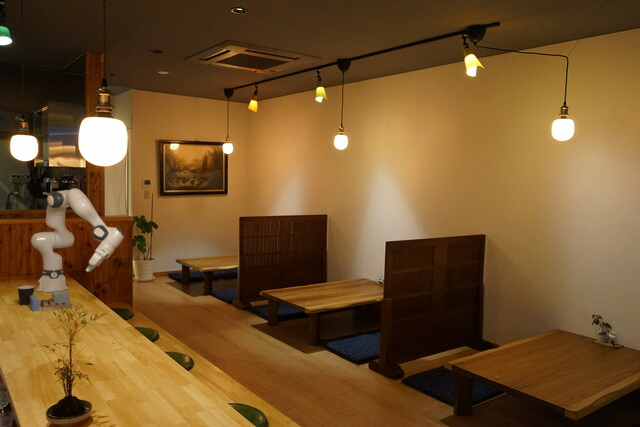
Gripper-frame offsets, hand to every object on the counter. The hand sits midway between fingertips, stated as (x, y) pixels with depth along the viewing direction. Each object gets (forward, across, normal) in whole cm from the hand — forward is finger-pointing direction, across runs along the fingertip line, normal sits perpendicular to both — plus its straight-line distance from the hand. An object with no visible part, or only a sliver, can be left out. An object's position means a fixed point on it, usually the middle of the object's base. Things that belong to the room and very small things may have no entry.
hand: (88, 270), depth 298 cm
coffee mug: (+36, -10, -17) cm, 41 cm away
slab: (+23, -2, -2) cm, 23 cm away
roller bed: (+27, -2, -2) cm, 27 cm away
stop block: (+33, +2, -10) cm, 35 cm away
